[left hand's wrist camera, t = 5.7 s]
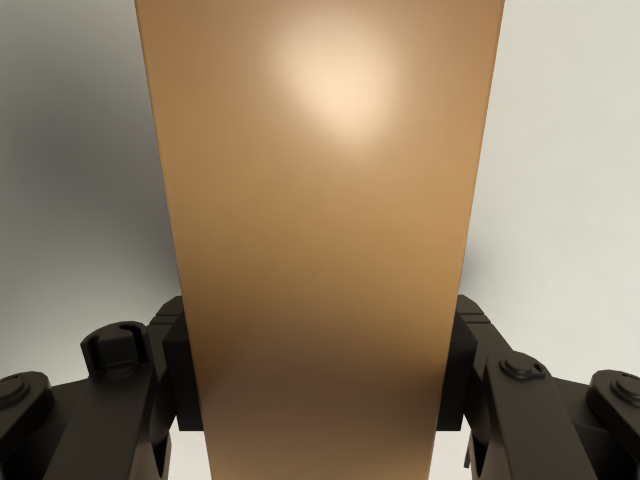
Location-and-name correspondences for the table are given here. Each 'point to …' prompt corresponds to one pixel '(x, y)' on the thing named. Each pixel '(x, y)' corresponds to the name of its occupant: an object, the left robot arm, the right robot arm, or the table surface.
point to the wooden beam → (319, 218)
